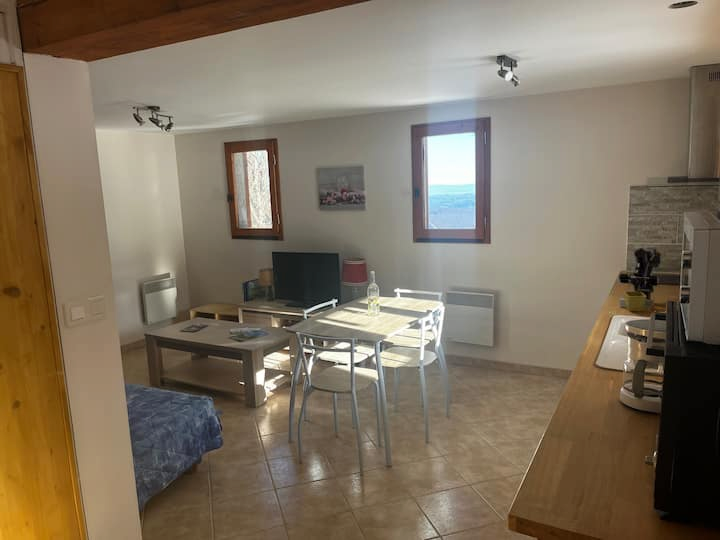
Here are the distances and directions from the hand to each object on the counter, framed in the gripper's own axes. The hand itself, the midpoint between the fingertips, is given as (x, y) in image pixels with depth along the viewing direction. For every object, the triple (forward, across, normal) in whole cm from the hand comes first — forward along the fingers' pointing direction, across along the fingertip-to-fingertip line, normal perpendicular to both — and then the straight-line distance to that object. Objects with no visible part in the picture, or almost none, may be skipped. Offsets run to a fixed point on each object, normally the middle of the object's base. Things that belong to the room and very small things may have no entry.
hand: (635, 291), depth 286 cm
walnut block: (+3, -5, -11) cm, 12 cm away
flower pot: (+9, 0, -4) cm, 10 cm away
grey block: (+4, +6, -9) cm, 11 cm away
